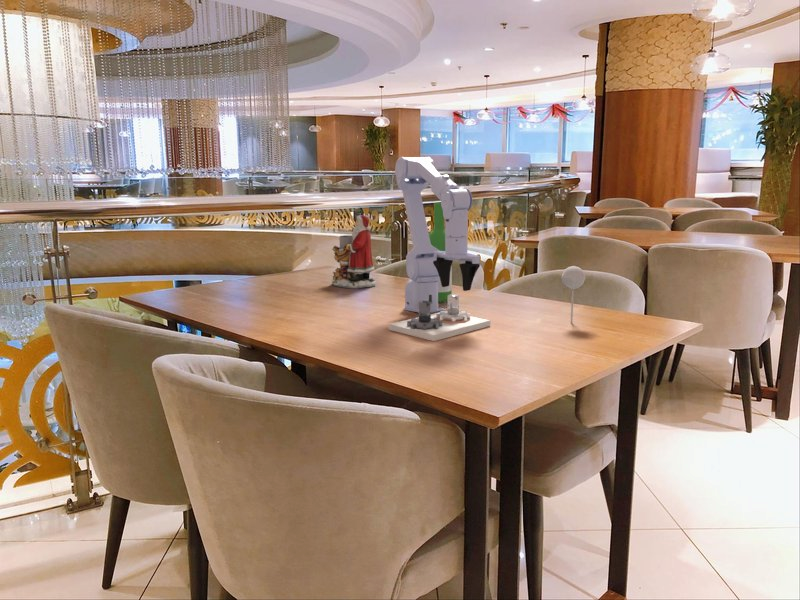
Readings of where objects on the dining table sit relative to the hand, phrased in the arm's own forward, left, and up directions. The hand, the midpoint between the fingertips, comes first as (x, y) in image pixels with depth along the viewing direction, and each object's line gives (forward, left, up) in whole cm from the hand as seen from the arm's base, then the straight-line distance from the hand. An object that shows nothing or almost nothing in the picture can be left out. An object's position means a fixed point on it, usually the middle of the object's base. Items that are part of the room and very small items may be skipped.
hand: (455, 288), depth 169 cm
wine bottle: (-23, +18, -10) cm, 31 cm away
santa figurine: (-64, +17, -10) cm, 68 cm away
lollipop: (+22, +21, -10) cm, 32 cm away
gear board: (+1, -7, -9) cm, 11 cm away
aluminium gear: (+1, -2, -8) cm, 8 cm away
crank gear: (+1, -12, -8) cm, 14 cm away
